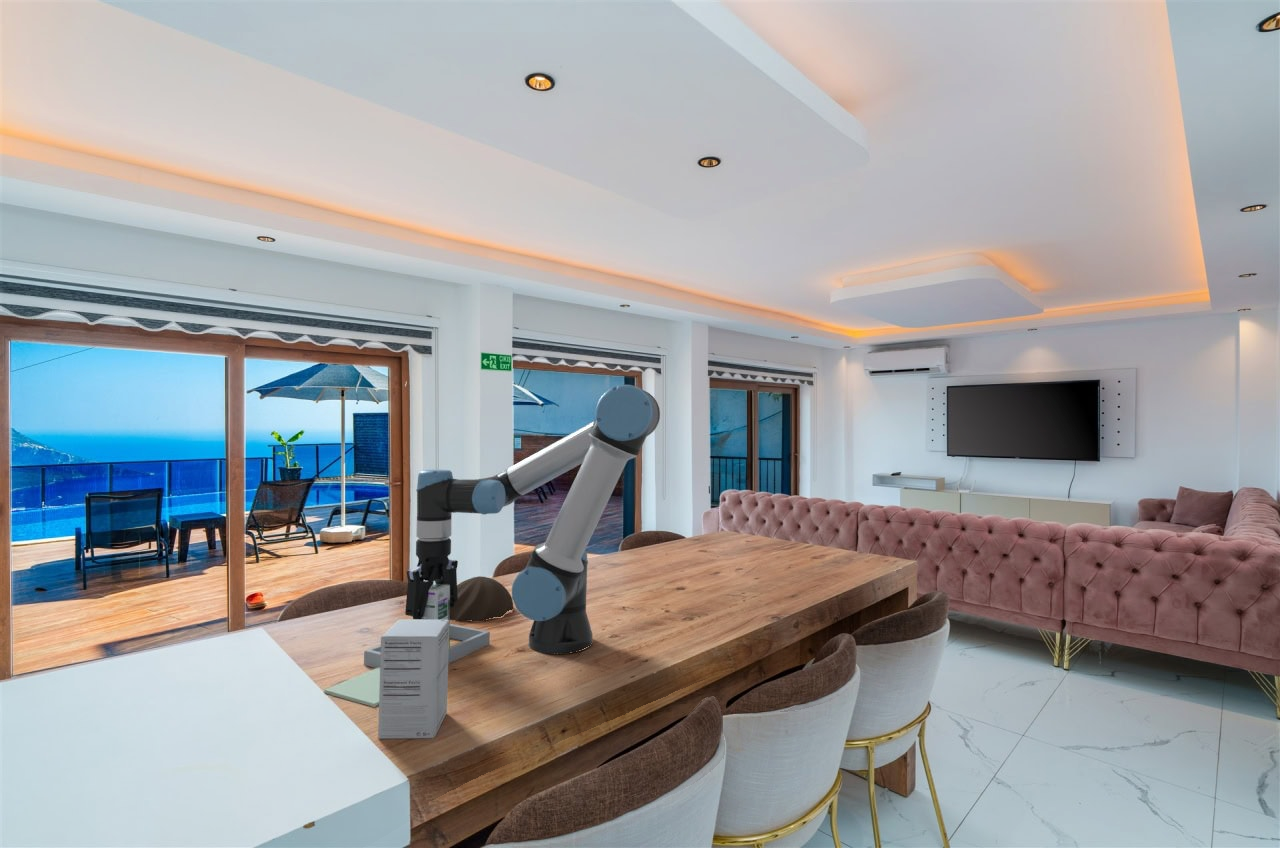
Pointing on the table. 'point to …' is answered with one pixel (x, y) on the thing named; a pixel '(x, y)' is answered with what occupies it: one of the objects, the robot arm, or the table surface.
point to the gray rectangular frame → (469, 644)
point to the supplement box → (413, 679)
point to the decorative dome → (481, 600)
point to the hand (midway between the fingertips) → (431, 640)
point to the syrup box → (438, 603)
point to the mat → (359, 688)
